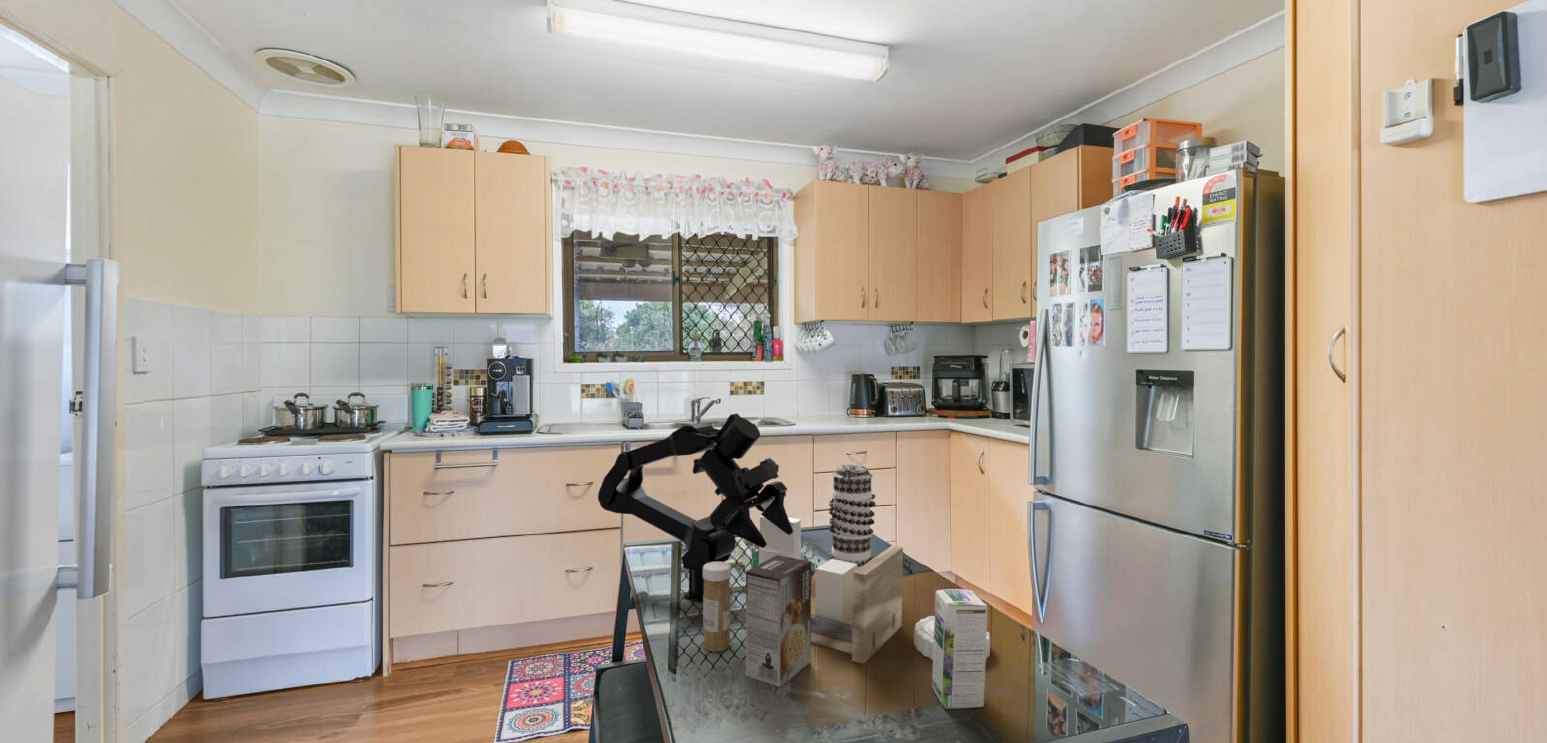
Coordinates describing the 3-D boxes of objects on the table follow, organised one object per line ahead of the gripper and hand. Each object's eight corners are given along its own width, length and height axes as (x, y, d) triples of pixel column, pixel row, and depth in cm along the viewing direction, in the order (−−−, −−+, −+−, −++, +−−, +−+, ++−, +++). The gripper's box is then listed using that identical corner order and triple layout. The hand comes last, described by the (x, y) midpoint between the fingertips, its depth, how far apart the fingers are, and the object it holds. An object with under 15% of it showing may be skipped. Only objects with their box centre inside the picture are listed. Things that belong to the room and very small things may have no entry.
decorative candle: (883, 595, 128) (885, 469, 127) (843, 602, 124) (845, 473, 123) (857, 579, 136) (859, 461, 135) (819, 586, 132) (821, 464, 131)
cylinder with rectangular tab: (808, 571, 141) (808, 516, 140) (786, 584, 133) (787, 526, 133) (773, 563, 146) (773, 510, 145) (750, 575, 138) (751, 519, 138)
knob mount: (796, 644, 107) (797, 560, 106) (839, 610, 120) (840, 536, 120) (863, 664, 100) (865, 575, 100) (901, 626, 114) (902, 547, 113)
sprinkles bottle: (735, 648, 105) (736, 566, 104) (710, 655, 103) (711, 572, 102) (721, 637, 109) (722, 558, 108) (697, 644, 106) (697, 563, 106)
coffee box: (776, 652, 104) (777, 553, 103) (811, 662, 101) (813, 560, 100) (744, 676, 96) (744, 570, 96) (780, 689, 93) (782, 579, 92)
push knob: (808, 624, 111) (809, 567, 111) (825, 612, 116) (825, 557, 116) (841, 633, 108) (842, 574, 107) (856, 620, 113) (857, 564, 112)
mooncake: (1004, 664, 101) (1004, 641, 101) (931, 669, 99) (932, 646, 99) (968, 630, 113) (969, 610, 113) (903, 634, 111) (903, 614, 111)
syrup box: (930, 687, 94) (932, 589, 93) (970, 686, 94) (972, 588, 94) (944, 710, 88) (946, 605, 87) (986, 708, 88) (989, 604, 88)
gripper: (720, 453, 112) (777, 523, 107) (776, 440, 128) (829, 500, 122) (687, 495, 116) (739, 564, 111) (745, 477, 132) (794, 537, 127)
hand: (778, 539), depth 118 cm, fingers open, 9 cm apart
